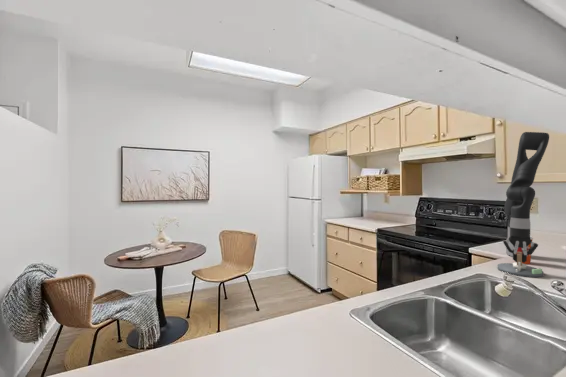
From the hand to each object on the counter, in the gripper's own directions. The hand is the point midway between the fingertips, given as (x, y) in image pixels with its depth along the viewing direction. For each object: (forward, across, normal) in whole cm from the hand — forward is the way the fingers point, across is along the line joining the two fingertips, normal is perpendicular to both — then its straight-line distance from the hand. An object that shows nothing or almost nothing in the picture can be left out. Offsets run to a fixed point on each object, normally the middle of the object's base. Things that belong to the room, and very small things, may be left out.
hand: (519, 261), depth 131 cm
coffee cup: (+5, +5, +20) cm, 21 cm away
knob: (+3, 0, -2) cm, 3 cm away
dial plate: (+5, 0, 0) cm, 5 cm away
